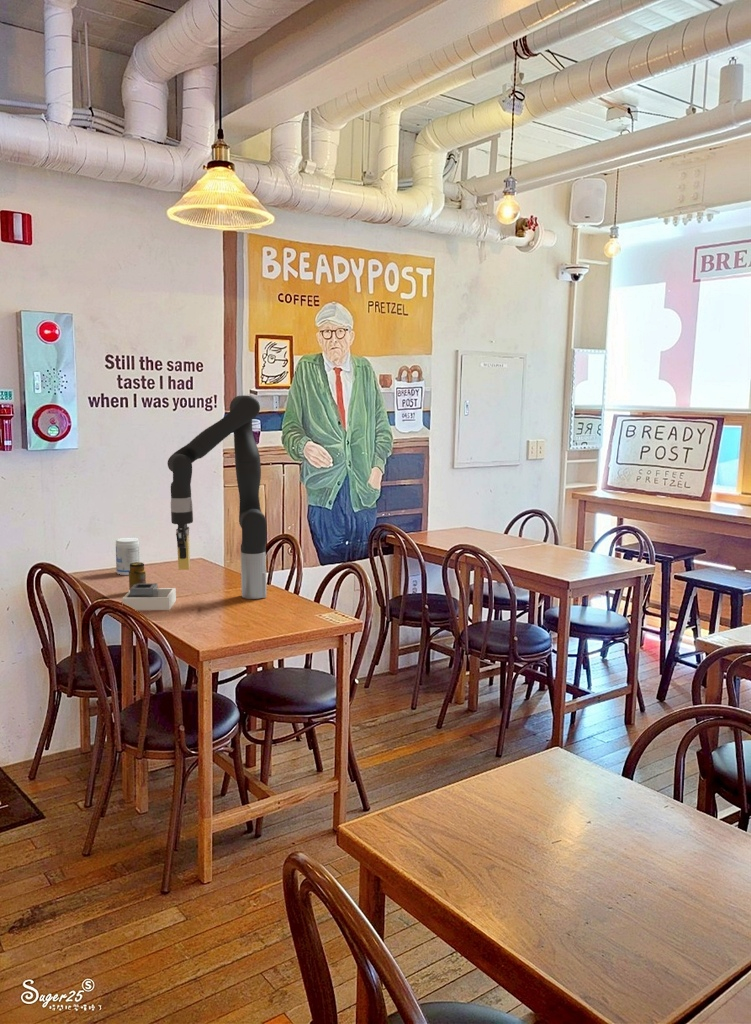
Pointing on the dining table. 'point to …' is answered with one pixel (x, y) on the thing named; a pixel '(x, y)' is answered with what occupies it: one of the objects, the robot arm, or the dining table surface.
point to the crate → (152, 600)
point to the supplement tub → (126, 554)
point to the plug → (185, 563)
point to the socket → (144, 590)
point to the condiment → (136, 574)
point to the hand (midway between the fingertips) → (183, 556)
